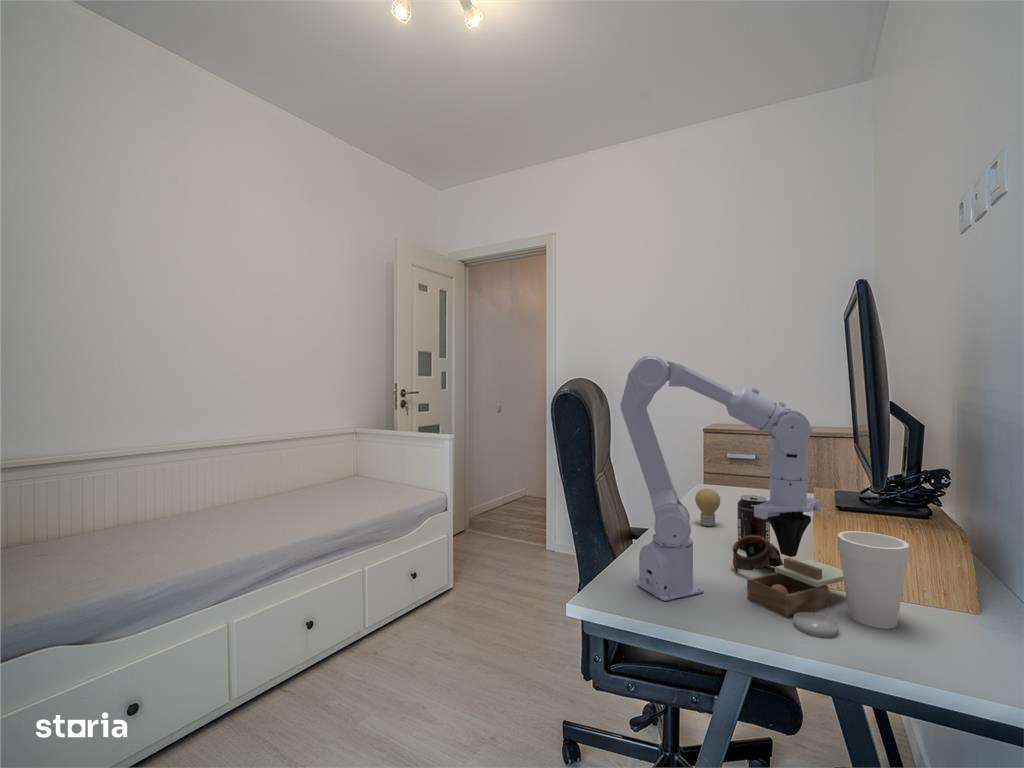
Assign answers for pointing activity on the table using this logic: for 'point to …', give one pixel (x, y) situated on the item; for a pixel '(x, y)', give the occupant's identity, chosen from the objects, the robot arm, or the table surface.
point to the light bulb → (707, 505)
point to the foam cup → (873, 576)
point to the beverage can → (751, 518)
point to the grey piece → (816, 624)
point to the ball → (780, 588)
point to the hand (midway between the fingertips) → (788, 554)
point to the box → (786, 595)
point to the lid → (810, 572)
